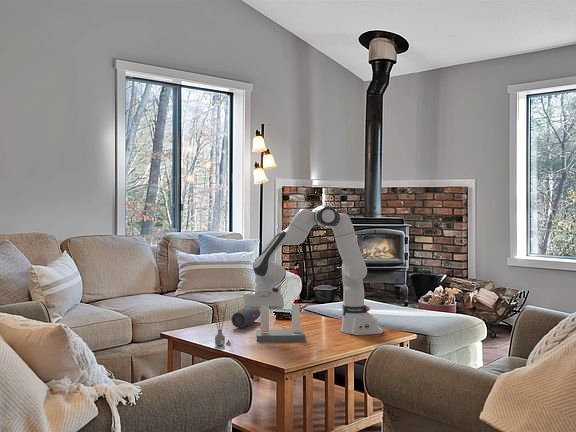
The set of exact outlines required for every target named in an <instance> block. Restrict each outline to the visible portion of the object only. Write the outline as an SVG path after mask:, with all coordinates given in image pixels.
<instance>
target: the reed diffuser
mask: <svg viewBox="0 0 576 432" xmlns="http://www.w3.org/2000/svg"><path fill="white" fill-rule="evenodd" d="M215 305H216V306H215V308H216V313H217V318H216V316H215V312H214V308H213V307H211V309H212V312H213V316H214V319H215V323H216V327H217V334H216V335H214V344H215V345H216V346H224V345H225V344H226V345H230V344H231V341H230V340H229V339H228V340H227V341H225V340H226V336H225V335H224V334H223V330H222V329H223V325H224V320H225V316H226V315H225V314H226V312H224V313H223V319H222V324H220V316H219V310H218V309H219V308H218V304H215ZM225 306H227V304H225ZM224 308H225V309H224V311H226V310H227V307H224ZM216 319H217V320H218V322H217V320H216Z"/></svg>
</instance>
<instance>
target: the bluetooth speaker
mask: <svg viewBox="0 0 576 432" xmlns="http://www.w3.org/2000/svg"><path fill="white" fill-rule="evenodd" d="M260 317H261V313H260V312H259V309H245V308H244V307H243V308H241V309H239V310H237V311H236V312H235V313H233V314H232V316H231V323H232V326H234V327H235V328H247V327H249V326H251V325H252V324H253V323H254V322H255V321H256V320H258V319H259V318H260Z"/></svg>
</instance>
